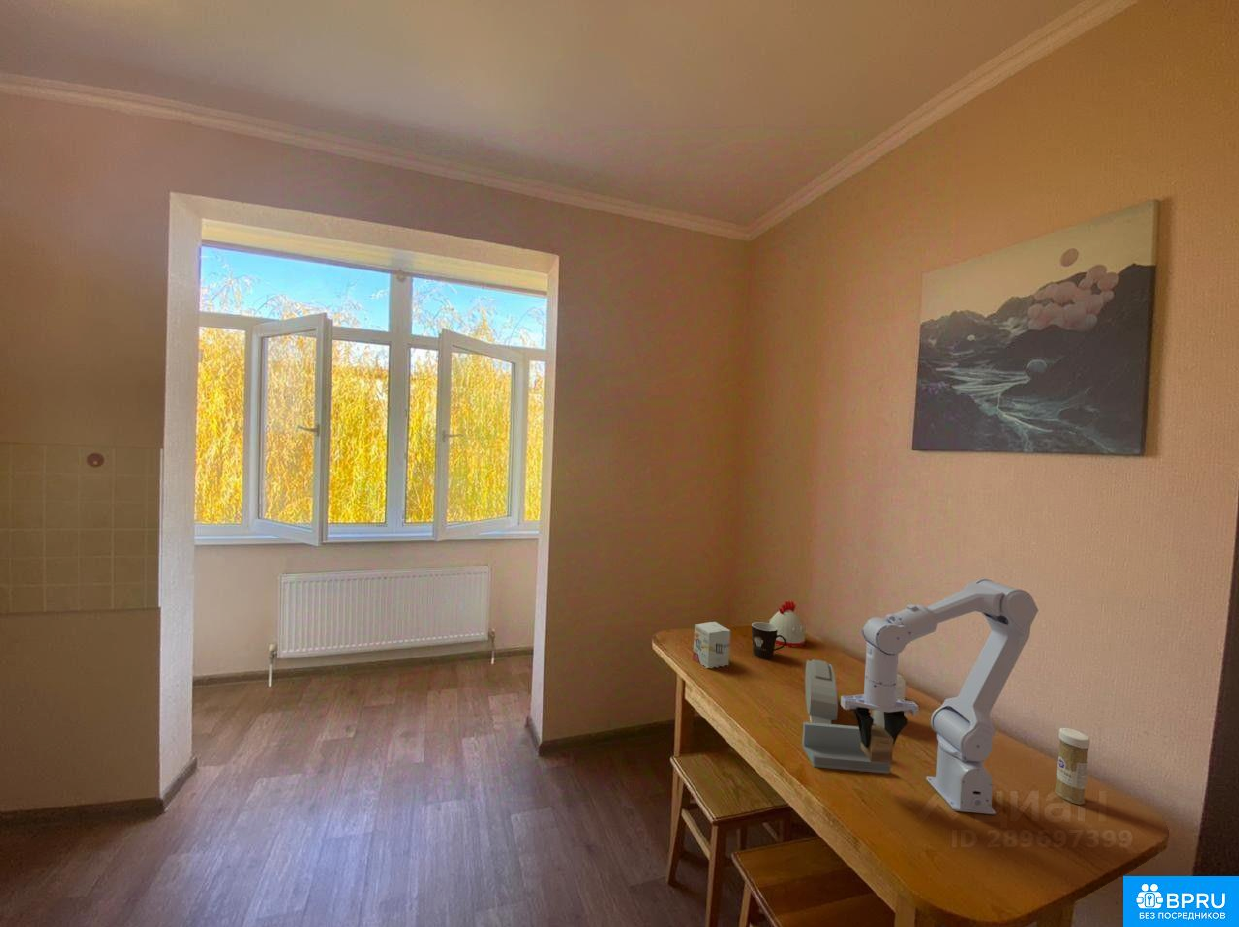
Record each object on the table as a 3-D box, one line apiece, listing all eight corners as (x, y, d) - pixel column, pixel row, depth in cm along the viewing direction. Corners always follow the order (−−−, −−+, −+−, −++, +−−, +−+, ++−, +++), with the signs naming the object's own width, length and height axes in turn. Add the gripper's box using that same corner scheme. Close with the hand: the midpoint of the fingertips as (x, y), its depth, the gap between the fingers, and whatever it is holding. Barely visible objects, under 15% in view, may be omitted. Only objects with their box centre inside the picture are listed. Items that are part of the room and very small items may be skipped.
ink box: (692, 658, 156) (694, 623, 156) (713, 655, 160) (715, 620, 160) (707, 669, 148) (709, 632, 148) (729, 666, 152) (731, 629, 152)
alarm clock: (836, 738, 114) (839, 685, 114) (809, 731, 116) (812, 680, 116) (827, 695, 136) (829, 651, 136) (804, 690, 138) (806, 647, 138)
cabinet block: (892, 764, 93) (894, 739, 93) (871, 762, 93) (873, 737, 93) (880, 750, 98) (882, 726, 98) (860, 747, 98) (862, 724, 98)
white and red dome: (812, 644, 176) (815, 604, 176) (787, 650, 169) (790, 608, 169) (782, 631, 188) (785, 594, 188) (758, 636, 181) (760, 597, 181)
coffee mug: (745, 651, 165) (747, 622, 165) (766, 649, 168) (768, 621, 168) (765, 665, 154) (766, 634, 154) (787, 663, 157) (788, 633, 157)
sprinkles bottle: (1049, 790, 99) (1052, 726, 99) (1068, 790, 99) (1072, 726, 99) (1072, 806, 94) (1076, 739, 94) (1092, 805, 95) (1096, 739, 95)
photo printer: (889, 713, 128) (892, 667, 128) (906, 720, 124) (908, 674, 124) (868, 722, 122) (871, 675, 122) (885, 731, 118) (888, 682, 118)
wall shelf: (889, 773, 101) (891, 747, 101) (814, 766, 102) (815, 741, 102) (872, 751, 109) (873, 727, 109) (802, 745, 110) (803, 721, 110)
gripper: (906, 673, 99) (902, 737, 99) (836, 667, 100) (832, 731, 100) (926, 689, 92) (922, 758, 92) (851, 683, 93) (846, 751, 93)
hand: (876, 745), depth 96 cm, fingers closed on cabinet block, 4 cm apart
